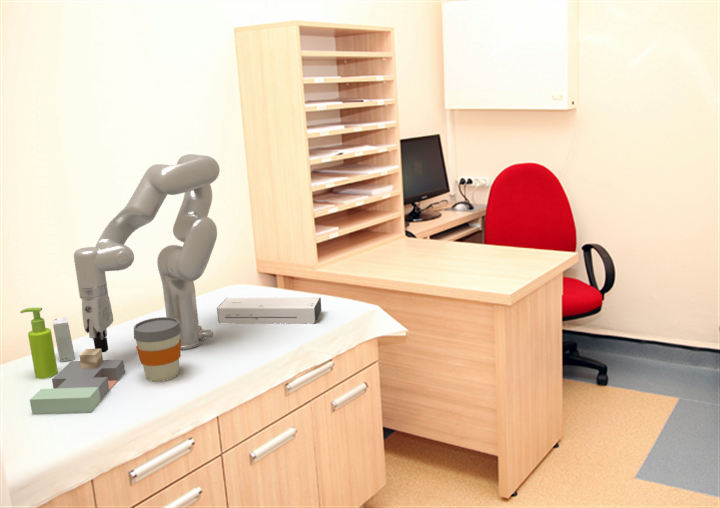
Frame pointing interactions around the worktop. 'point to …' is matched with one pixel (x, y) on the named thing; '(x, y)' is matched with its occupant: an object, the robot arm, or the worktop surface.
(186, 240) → the robot arm
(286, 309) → the laminator
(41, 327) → the soap dispenser
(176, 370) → the reusable coffee cup
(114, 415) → the worktop surface
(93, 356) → the maple block
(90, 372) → the board
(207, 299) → the worktop surface
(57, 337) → the skincare box
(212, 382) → the worktop surface
